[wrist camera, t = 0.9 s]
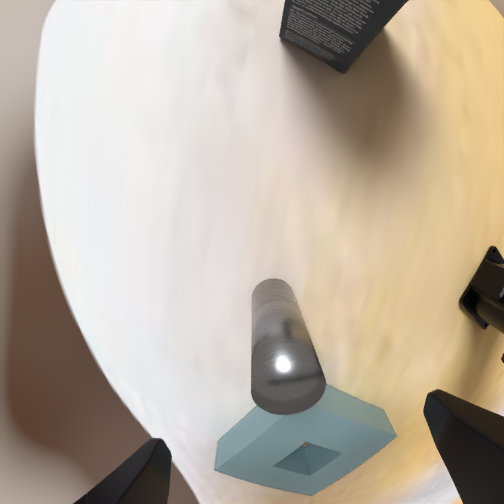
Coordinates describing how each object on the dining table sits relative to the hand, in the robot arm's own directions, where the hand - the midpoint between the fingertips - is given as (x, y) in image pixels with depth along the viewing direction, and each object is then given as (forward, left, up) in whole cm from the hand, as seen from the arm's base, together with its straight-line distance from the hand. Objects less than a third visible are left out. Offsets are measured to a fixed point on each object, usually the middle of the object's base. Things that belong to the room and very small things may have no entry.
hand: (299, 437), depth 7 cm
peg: (0, 0, -13) cm, 13 cm away
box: (+8, -20, -13) cm, 25 cm away
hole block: (-11, +10, -13) cm, 20 cm away
